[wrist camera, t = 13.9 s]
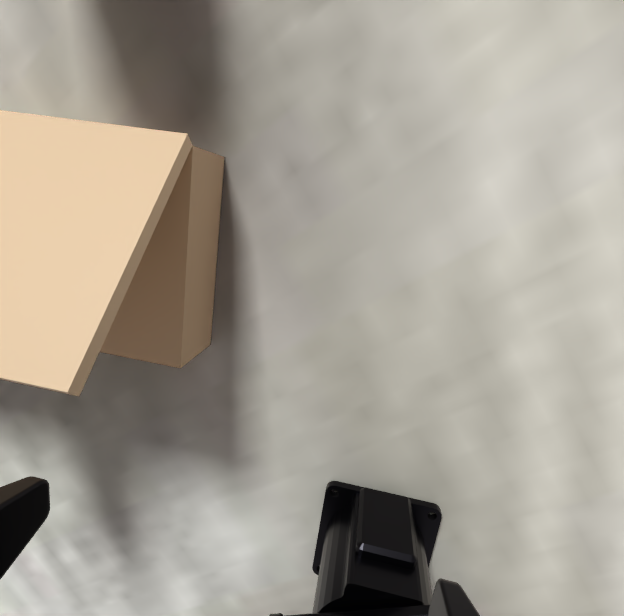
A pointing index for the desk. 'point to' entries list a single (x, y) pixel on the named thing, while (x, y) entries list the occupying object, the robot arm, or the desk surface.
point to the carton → (175, 273)
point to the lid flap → (73, 236)
